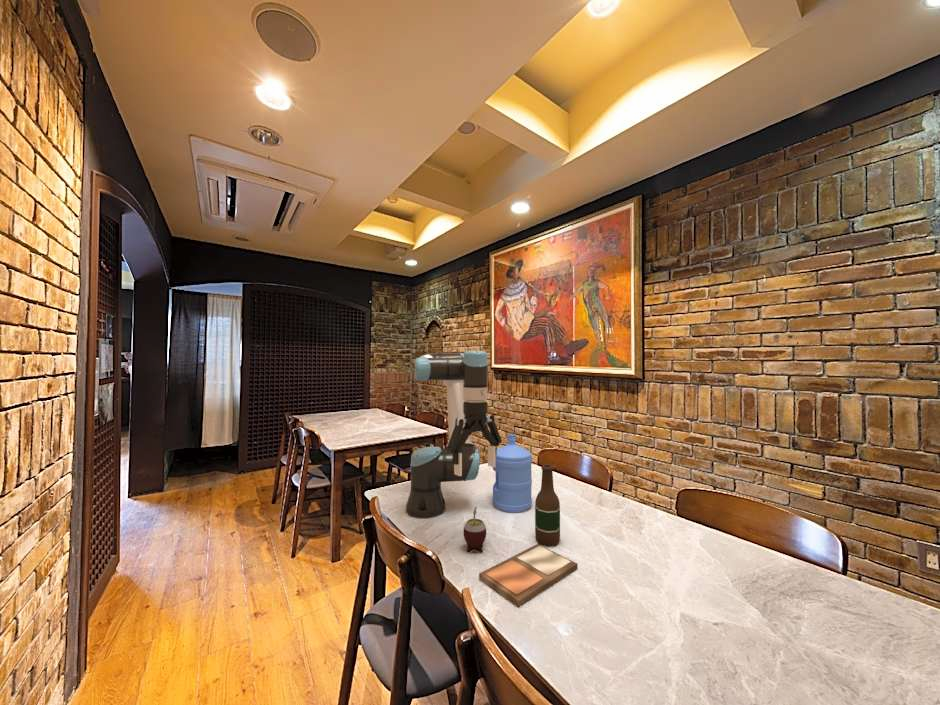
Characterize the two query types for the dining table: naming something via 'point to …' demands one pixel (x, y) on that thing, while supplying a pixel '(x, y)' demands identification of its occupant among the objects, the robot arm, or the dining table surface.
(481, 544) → the mate gourd
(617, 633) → the dining table surface
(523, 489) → the water jug
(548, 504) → the beer bottle
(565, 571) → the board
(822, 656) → the dining table surface
